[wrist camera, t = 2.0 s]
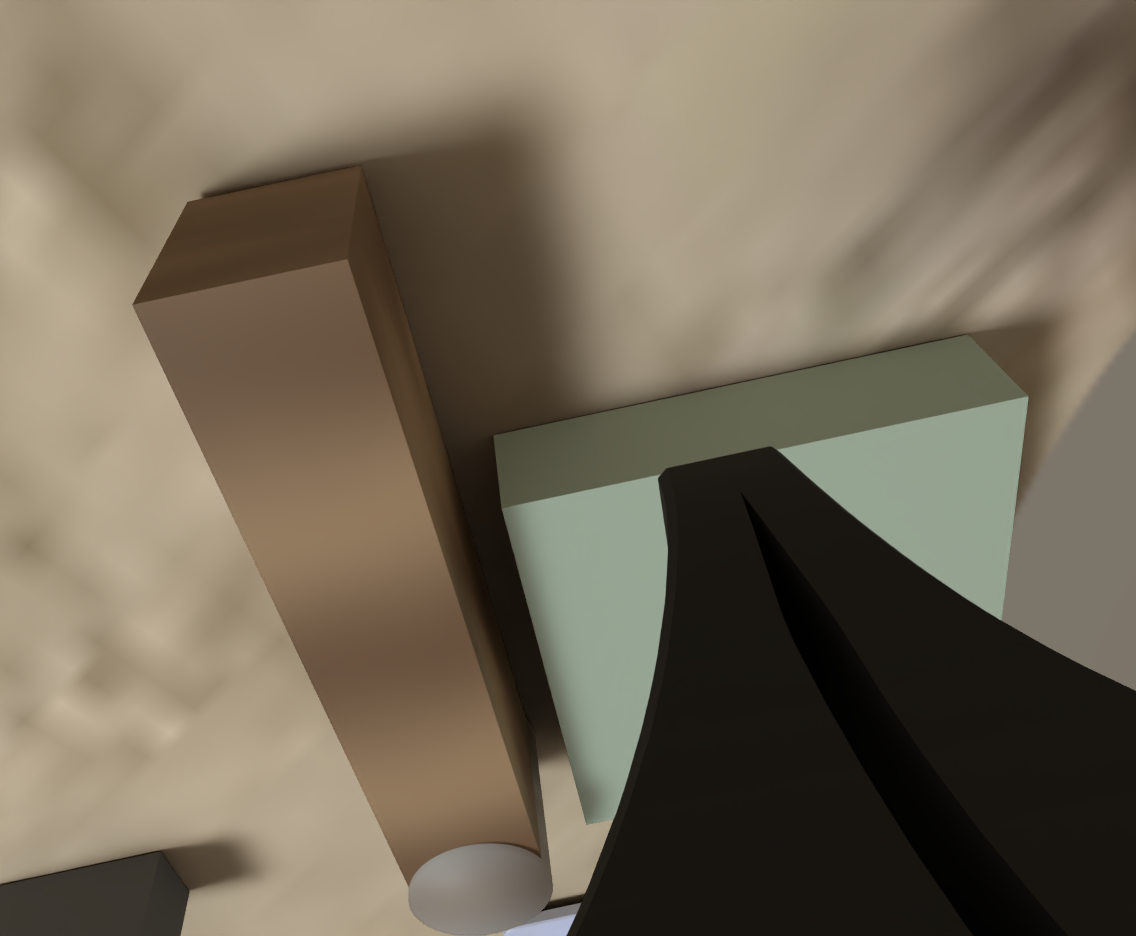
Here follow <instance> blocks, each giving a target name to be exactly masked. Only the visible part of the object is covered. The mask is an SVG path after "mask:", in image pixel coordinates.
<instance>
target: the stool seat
mask: <svg viewBox="0 0 1136 936" xmlns="http://www.w3.org/2000/svg"><path fill="white" fill-rule="evenodd" d="M1028 397H1029V396H1028V395H1027V394H1026V393H1025V392H1024V391H1023V390H1022V389H1021V388H1020V387H1019V386H1018V385H1017V384H1016V383H1015V382H1014V381H1013V380H1012V379H1011V378H1010V377H1009V376H1008V375H1007V374H1006V373H1005V372H1004V371H1003V370H1002V369H1001V368H1000V367H999V366H998V364H997V363H996V362H995V361H994V360H993V359H992V358H991V357H990V356H989V355H988V354H987V353H986V352H985V351H984V350H983V349H982V348H981V347H980V346H979V345H978V344H977V343H976V342H975V341H974V340H973V339H972V338H971V337H970V336H969V335H963V336H958V337H954V338H949V339H944V340H940V341H935V342H930V343H925V344H921V345H916V346H911V347H907V348H902V349H897V350H893V351H888V352H883V353H878V354H874V355H869V356H864V357H860V358H855V359H850V360H845V361H841V362H836V363H831V364H827V365H822V366H817V367H813V368H808V369H803V370H798V371H794V372H789V373H784V374H780V375H775V376H770V377H766V378H761V379H756V380H751V381H747V382H742V383H737V384H733V385H728V386H723V387H718V388H714V389H709V390H704V391H700V392H695V393H690V394H686V395H681V396H676V397H671V398H667V399H662V400H657V401H653V402H648V403H643V404H638V405H634V406H629V407H624V408H620V409H615V410H610V411H606V412H601V413H596V414H591V415H587V416H582V417H577V418H573V419H568V420H563V421H558V422H554V423H549V424H544V425H540V426H535V427H530V428H526V429H521V430H516V431H511V432H507V433H502V434H497V435H493V436H494V445H495V454H496V463H497V472H498V481H499V489H500V498H501V507H502V512H503V515H504V519H505V523H506V527H507V530H508V534H509V538H510V541H511V545H512V549H513V553H514V556H515V560H516V564H517V567H518V571H519V575H520V579H521V582H522V586H523V590H524V594H525V597H526V601H527V605H528V608H529V612H530V616H531V620H532V623H533V627H534V631H535V635H536V638H537V642H538V646H539V649H540V653H541V657H542V661H543V664H544V668H545V672H546V675H547V679H548V683H549V687H550V690H551V694H552V698H553V702H554V705H555V709H556V713H557V716H558V720H559V724H560V728H561V731H562V735H563V739H564V743H565V746H566V750H567V754H568V757H569V761H570V765H571V769H572V772H573V776H574V780H575V783H576V787H577V791H578V795H579V798H580V802H581V806H582V810H583V813H584V817H585V821H586V824H587V825H588V824H593V823H598V822H603V821H607V820H612V819H614V817H615V815H616V812H617V809H618V806H619V803H620V800H621V797H622V794H623V791H624V788H625V784H626V781H627V778H628V775H629V771H630V768H631V764H632V761H633V757H634V754H635V750H636V747H637V743H638V740H639V736H640V733H641V729H642V725H643V721H644V716H645V712H646V708H647V704H648V700H649V695H650V690H651V686H652V681H653V676H654V671H655V665H656V660H657V654H658V647H659V640H660V633H661V626H662V619H663V612H664V604H665V594H666V577H667V557H668V546H667V539H666V532H665V525H664V518H663V511H662V505H661V498H660V491H659V484H658V477H659V476H660V475H661V474H662V473H663V471H664V470H665V469H666V468H669V467H674V466H679V465H684V464H688V463H693V462H698V461H702V460H707V459H712V458H716V457H721V456H726V455H731V454H735V453H740V452H745V451H749V450H754V449H759V448H764V447H768V446H772V447H773V448H775V449H776V450H778V451H779V452H781V453H782V454H783V455H784V456H785V457H786V458H787V459H788V460H789V461H791V462H792V463H793V464H794V465H795V466H796V467H797V468H798V469H799V470H801V471H802V472H803V473H804V474H805V475H806V476H807V477H808V478H809V479H811V480H812V481H813V482H814V483H815V484H816V485H817V486H819V487H820V488H821V489H822V490H823V491H824V492H826V493H827V494H828V495H829V496H830V497H831V498H833V499H834V500H835V501H836V502H837V503H839V504H840V505H841V506H842V507H843V508H844V509H846V510H847V511H848V512H849V513H851V514H852V515H853V516H854V517H855V518H857V519H858V520H859V521H860V522H862V523H863V524H864V525H865V526H867V527H868V528H869V529H871V530H872V531H873V532H875V533H876V534H877V535H878V536H880V537H881V538H882V539H884V540H885V541H886V542H887V543H889V544H890V545H891V546H893V547H894V548H895V549H897V550H898V551H899V552H900V553H902V554H903V555H904V556H906V557H907V558H909V559H910V560H911V561H913V562H914V563H915V564H917V565H918V566H920V567H921V568H922V569H924V570H925V571H926V572H928V573H929V574H931V575H932V576H934V577H935V578H937V579H938V580H940V581H941V582H943V583H944V584H945V585H947V586H948V587H950V588H951V589H953V590H954V591H956V592H957V593H959V594H960V595H962V596H963V597H965V598H966V599H968V600H969V601H971V602H972V603H974V604H976V605H977V606H979V607H980V608H982V609H983V610H985V611H986V612H988V613H990V614H991V615H993V616H995V617H996V618H998V619H999V620H1001V621H1002V614H1003V605H1004V597H1005V588H1006V580H1007V572H1008V563H1009V555H1010V546H1011V539H1012V530H1013V522H1014V514H1015V505H1016V497H1017V489H1018V480H1019V472H1020V464H1021V455H1022V447H1023V439H1024V430H1025V422H1026V414H1027V405H1028Z"/></svg>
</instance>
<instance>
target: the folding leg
mask: <svg viewBox="0 0 1136 936" xmlns="http://www.w3.org/2000/svg"><path fill="white" fill-rule="evenodd" d="M132 305H133V307H134V309H135V312H136V314H137V316H138V318H139V320H140V322H141V324H142V326H143V328H144V331H145V333H146V335H147V337H148V339H149V341H150V343H151V345H152V347H153V349H154V352H155V354H156V356H157V358H158V360H159V362H160V364H161V366H162V368H163V371H164V373H165V375H166V377H167V379H168V381H169V383H170V385H171V387H172V389H173V392H174V394H175V396H176V398H177V400H178V402H179V404H180V406H181V408H182V411H183V413H184V415H185V417H186V419H187V421H188V423H189V425H190V427H191V429H192V432H193V434H194V436H195V438H196V440H197V442H198V444H199V446H200V448H201V451H202V453H203V455H204V457H205V459H206V461H207V463H208V465H209V467H210V470H211V472H212V474H213V476H214V478H215V480H216V482H217V484H218V486H219V488H220V491H221V493H222V495H223V497H224V499H225V501H226V503H227V505H228V507H229V510H230V512H231V514H232V516H233V518H234V520H235V522H236V524H237V526H238V528H239V531H240V533H241V535H242V537H243V539H244V541H245V543H246V545H247V547H248V550H249V552H250V554H251V556H252V558H253V560H254V562H255V564H256V566H257V568H258V571H259V573H260V575H261V577H262V579H263V581H264V583H265V585H266V587H267V590H268V592H269V594H270V596H271V598H272V600H273V602H274V604H275V606H276V608H277V611H278V613H279V615H280V617H281V619H282V621H283V623H284V625H285V627H286V630H287V632H288V634H289V636H290V638H291V640H292V642H293V644H294V646H295V648H296V651H297V653H298V655H299V657H300V659H301V661H302V663H303V665H304V667H305V670H306V672H307V674H308V676H309V678H310V680H311V682H312V684H313V686H314V689H315V691H316V693H317V695H318V697H319V699H320V701H321V703H322V705H323V707H324V710H325V712H326V714H327V716H328V718H329V720H330V722H331V724H332V726H333V729H334V731H335V733H336V735H337V737H338V739H339V741H340V743H341V745H342V747H343V750H344V752H345V754H346V756H347V758H348V760H349V762H350V764H351V766H352V769H353V771H354V773H355V775H356V777H357V779H358V781H359V783H360V785H361V787H362V790H363V792H364V794H365V796H366V798H367V800H368V802H369V804H370V806H371V809H372V811H373V813H374V815H375V817H376V819H377V821H378V823H379V825H380V827H381V830H382V832H383V834H384V836H385V838H386V840H387V842H388V844H389V846H390V849H391V851H392V853H393V855H394V857H395V859H396V861H397V863H398V865H399V868H400V870H401V872H402V874H403V876H404V878H405V880H406V882H407V884H408V886H409V906H410V909H411V911H412V913H413V914H414V916H415V917H416V918H417V919H418V920H419V921H420V922H422V923H423V924H425V925H426V926H428V927H430V928H432V929H435V930H437V931H440V932H444V933H448V934H454V935H463V936H479V935H488V934H494V933H499V932H503V931H506V930H509V929H512V928H515V927H517V926H519V925H522V924H524V923H525V922H527V921H529V920H531V919H532V918H534V917H535V916H536V915H537V914H539V913H540V912H541V911H542V910H543V909H544V908H545V906H546V905H547V904H548V902H549V900H550V898H551V895H552V891H553V884H552V875H551V867H550V859H549V850H548V842H547V834H546V825H545V817H544V809H543V800H542V792H541V784H540V775H539V767H538V759H537V750H536V742H535V735H534V731H533V729H532V727H531V725H530V723H529V722H528V721H527V720H526V717H525V714H524V711H523V707H522V704H521V701H520V697H519V694H518V691H517V687H516V684H515V681H514V677H513V674H512V670H511V667H510V664H509V660H508V657H507V654H506V650H505V647H504V644H503V640H502V637H501V633H500V630H499V627H498V623H497V620H496V617H495V613H494V610H493V607H492V603H491V600H490V596H489V593H488V590H487V586H486V583H485V580H484V576H483V573H482V570H481V566H480V563H479V560H478V556H477V553H476V549H475V546H474V543H473V539H472V536H471V533H470V529H469V526H468V523H467V519H466V516H465V512H464V509H463V506H462V502H461V499H460V496H459V492H458V489H457V486H456V482H455V479H454V476H453V472H452V469H451V465H450V462H449V459H448V455H447V452H446V449H445V445H444V442H443V439H442V435H441V432H440V428H439V425H438V422H437V418H436V415H435V412H434V408H433V405H432V402H431V398H430V395H429V391H428V388H427V385H426V381H425V378H424V375H423V371H422V368H421V365H420V361H419V358H418V355H417V351H416V348H415V344H414V341H413V338H412V334H411V331H410V328H409V324H408V321H407V318H406V314H405V311H404V307H403V304H402V301H401V297H400V294H399V291H398V287H397V284H396V281H395V277H394V274H393V270H392V267H391V264H390V260H389V257H388V254H387V250H386V247H385V244H384V240H383V237H382V234H381V230H380V227H379V223H378V220H377V217H376V213H375V210H374V207H373V203H372V200H371V197H370V193H369V190H368V186H367V183H366V180H365V176H364V173H363V170H362V166H361V165H359V166H355V167H350V168H345V169H341V170H336V171H331V172H326V173H322V174H317V175H312V176H308V177H303V178H298V179H293V180H289V181H284V182H279V183H275V184H270V185H265V186H260V187H256V188H251V189H246V190H242V191H237V192H232V193H227V194H223V195H218V196H213V197H209V198H204V199H199V200H195V201H190V202H187V204H186V206H185V208H184V210H183V212H182V213H181V215H180V217H179V219H178V221H177V223H176V225H175V226H174V228H173V230H172V232H171V234H170V236H169V238H168V239H167V241H166V243H165V245H164V247H163V249H162V251H161V252H160V254H159V256H158V258H157V260H156V262H155V264H154V265H153V267H152V269H151V271H150V273H149V275H148V277H147V278H146V280H145V282H144V284H143V286H142V288H141V290H140V291H139V293H138V295H137V297H136V299H135V301H134V303H133V304H132Z"/></svg>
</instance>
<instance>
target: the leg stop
mask: <svg viewBox="0 0 1136 936" xmlns="http://www.w3.org/2000/svg"><path fill="white" fill-rule="evenodd" d="M188 896H189V891H188V890H187V888H186V887H185V885H184V884H183V883H182V881H181V880H180V878H179V877H178V876H177V874H176V873H175V871H174V870H173V868H172V867H171V866H170V864H169V863H168V861H167V860H166V859H165V857H164V856H163V854H162V853H161V852H155V853H151V854H146V855H141V856H137V857H132V858H127V859H122V860H118V861H113V862H108V863H104V864H99V865H94V866H90V867H85V868H80V869H76V870H71V871H66V872H61V873H57V874H52V875H47V876H43V877H38V878H33V879H29V880H24V881H19V882H14V883H10V884H5V885H0V936H180V935H181V930H182V926H183V921H184V916H185V911H186V906H187V901H188Z"/></svg>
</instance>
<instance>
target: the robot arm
mask: <svg viewBox="0 0 1136 936" xmlns="http://www.w3.org/2000/svg"><path fill="white" fill-rule="evenodd" d="M658 484H659V491H660V498H661V505H662V511H663V518H664V525H665V532H666V539H667V546H668V557H667V577H666V594H665V604H664V612H663V619H662V626H661V633H660V640H659V647H658V654H657V660H656V665H655V671H654V676H653V681H652V686H651V690H650V695H649V700H648V704H647V708H646V712H645V716H644V721H643V725H642V729H641V733H640V736H639V740H638V743H637V747H636V750H635V754H634V757H633V761H632V764H631V768H630V771H629V775H628V778H627V781H626V784H625V788H624V791H623V794H622V797H621V800H620V803H619V806H618V809H617V812H616V815H615V817H614V820H613V823H612V825H611V828H610V831H609V833H608V836H607V838H606V841H605V844H604V846H603V849H602V852H601V854H600V857H599V860H598V862H597V865H596V868H595V870H594V873H593V876H592V878H591V881H590V883H589V886H588V888H587V891H586V893H585V895H584V898H583V900H582V903H578V904H573V905H568V906H563V907H559V908H554V909H549V910H545V911H541V912H540V913H539V914H537V915H536V916H535V917H534V918H532V919H531V920H529V921H527V922H525V923H524V924H522V925H519V926H517V927H515V928H512V929H509V930H506V931H504V936H1136V691H1135V690H1133V689H1131V688H1129V687H1127V686H1124V685H1122V684H1120V683H1118V682H1116V681H1114V680H1112V679H1110V678H1107V677H1106V676H1103V675H1101V674H1099V673H1097V672H1095V671H1093V670H1091V669H1089V668H1087V667H1084V666H1083V665H1081V664H1079V663H1077V662H1075V661H1073V660H1071V659H1069V658H1067V657H1065V656H1063V655H1061V654H1060V653H1058V652H1056V651H1054V650H1052V649H1050V648H1048V647H1046V646H1045V645H1043V644H1041V643H1039V642H1038V641H1036V640H1034V639H1032V638H1031V637H1029V636H1027V635H1025V634H1023V633H1022V632H1020V631H1018V630H1017V629H1015V628H1013V627H1011V626H1010V625H1008V624H1006V623H1004V622H1003V621H1001V620H999V619H998V618H996V617H995V616H993V615H991V614H990V613H988V612H986V611H985V610H983V609H982V608H980V607H979V606H977V605H976V604H974V603H972V602H971V601H969V600H968V599H966V598H965V597H963V596H962V595H960V594H959V593H957V592H956V591H954V590H953V589H951V588H950V587H948V586H947V585H945V584H944V583H943V582H941V581H940V580H938V579H937V578H935V577H934V576H932V575H931V574H929V573H928V572H926V571H925V570H924V569H922V568H921V567H920V566H918V565H917V564H915V563H914V562H913V561H911V560H910V559H909V558H907V557H906V556H904V555H903V554H902V553H900V552H899V551H898V550H897V549H895V548H894V547H893V546H891V545H890V544H889V543H887V542H886V541H885V540H884V539H882V538H881V537H880V536H878V535H877V534H876V533H875V532H873V531H872V530H871V529H869V528H868V527H867V526H865V525H864V524H863V523H862V522H860V521H859V520H858V519H857V518H855V517H854V516H853V515H852V514H851V513H849V512H848V511H847V510H846V509H844V508H843V507H842V506H841V505H840V504H839V503H837V502H836V501H835V500H834V499H833V498H831V497H830V496H829V495H828V494H827V493H826V492H824V491H823V490H822V489H821V488H820V487H819V486H817V485H816V484H815V483H814V482H813V481H812V480H811V479H809V478H808V477H807V476H806V475H805V474H804V473H803V472H802V471H801V470H799V469H798V468H797V467H796V466H795V465H794V464H793V463H792V462H791V461H789V460H788V459H787V458H786V457H785V456H784V455H783V454H782V453H781V452H779V451H778V450H776V449H775V448H773V447H772V446H768V447H764V448H759V449H754V450H749V451H745V452H740V453H735V454H731V455H726V456H721V457H716V458H712V459H707V460H702V461H698V462H693V463H688V464H684V465H679V466H674V467H669V468H666V469H665V470H664V471H663V473H662V474H661V475H660V476H659V477H658Z"/></svg>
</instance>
